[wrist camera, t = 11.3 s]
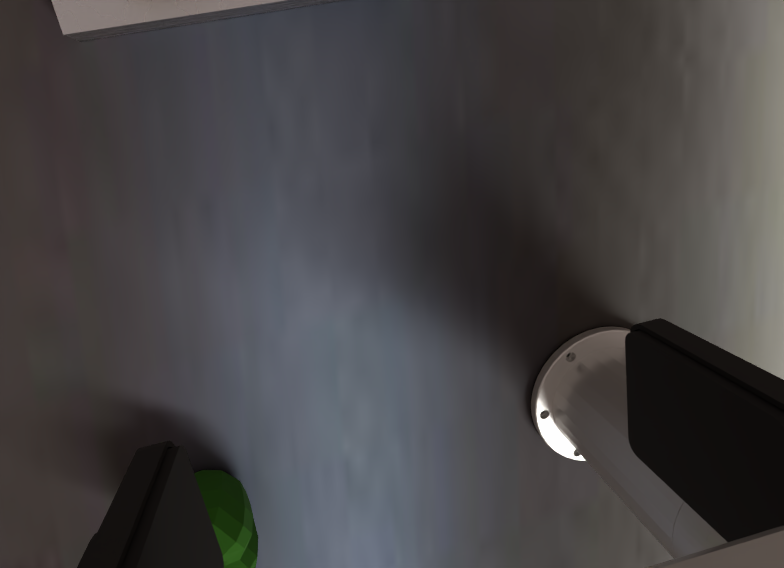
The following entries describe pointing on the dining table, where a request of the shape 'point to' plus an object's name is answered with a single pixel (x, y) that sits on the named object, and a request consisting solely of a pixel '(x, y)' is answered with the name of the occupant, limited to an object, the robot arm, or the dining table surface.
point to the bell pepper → (230, 517)
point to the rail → (155, 14)
